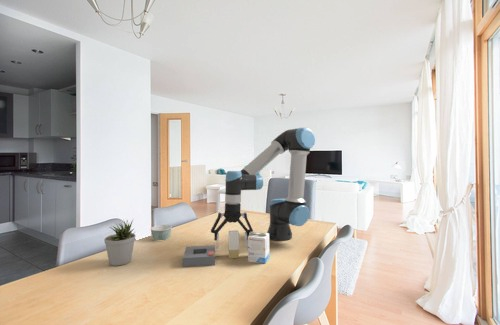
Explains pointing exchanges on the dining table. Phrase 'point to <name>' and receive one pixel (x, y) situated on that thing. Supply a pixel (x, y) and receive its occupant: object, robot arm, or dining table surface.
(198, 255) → the socket
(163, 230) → the food container
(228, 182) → the robot arm
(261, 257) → the ink box
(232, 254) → the plug
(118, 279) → the dining table surface
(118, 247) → the potted plant
